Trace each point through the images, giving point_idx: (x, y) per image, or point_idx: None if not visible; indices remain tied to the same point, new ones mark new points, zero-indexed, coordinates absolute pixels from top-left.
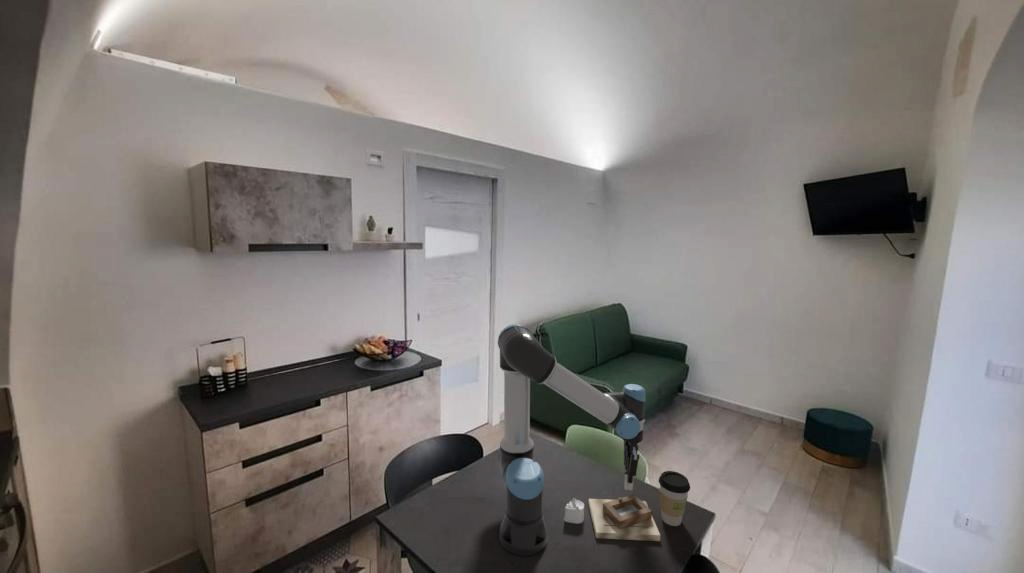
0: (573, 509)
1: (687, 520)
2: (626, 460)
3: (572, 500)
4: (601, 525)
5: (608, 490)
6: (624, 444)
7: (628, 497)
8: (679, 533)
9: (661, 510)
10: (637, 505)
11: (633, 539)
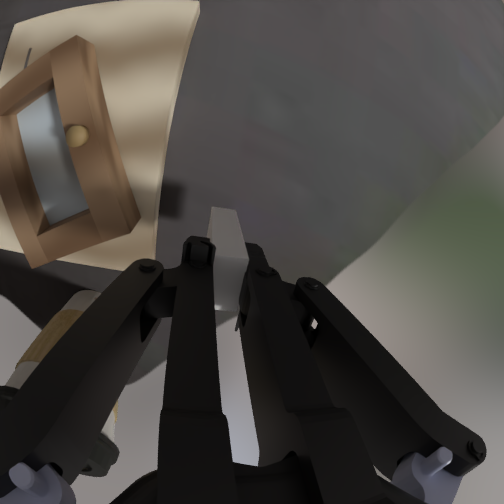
0: None
1: None
2: (265, 333)
3: None
4: (32, 39)
5: (283, 137)
6: (430, 430)
7: (104, 192)
8: (46, 307)
9: (85, 307)
10: (66, 220)
11: None
